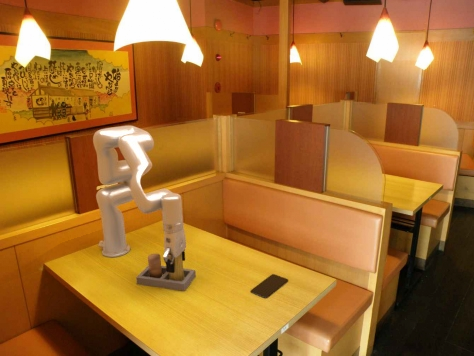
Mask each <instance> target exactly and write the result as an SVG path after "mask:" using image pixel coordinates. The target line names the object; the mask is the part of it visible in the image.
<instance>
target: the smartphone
mask: <svg viewBox="0 0 474 356" xmlns="http://www.w3.org/2000/svg"><path fill="white" fill-rule="evenodd" d="M288 282H289V279H288V278H286V277H283V276H281V275H277V274H274V273H271V274H270V275H269V276H268V277H266V278H265V279H264V280H262V281H261V282H259V283H258V284H257V285H256V286H254V287H253V288H251V289H250V291H249V292H250V294H252V295H255V296H258V297H259V298H263V299H268V298H270V297H271V296H272V295H274V294H275V293H276V292H277V291H278V290H280V289H281V288H282V287H283V286H284V285H285V284H287V283H288Z"/></svg>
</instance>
